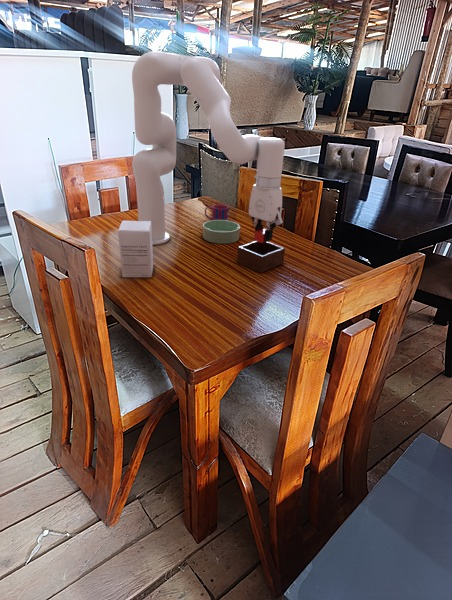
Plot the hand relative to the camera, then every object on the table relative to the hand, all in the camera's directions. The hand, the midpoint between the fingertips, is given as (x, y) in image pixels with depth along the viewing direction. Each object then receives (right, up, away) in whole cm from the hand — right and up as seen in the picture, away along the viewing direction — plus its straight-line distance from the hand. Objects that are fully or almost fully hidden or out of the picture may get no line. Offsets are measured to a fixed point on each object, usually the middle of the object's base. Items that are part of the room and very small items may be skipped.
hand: (263, 238), depth 130 cm
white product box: (-39, -11, -6) cm, 41 cm away
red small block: (0, 0, 0) cm, 1 cm away
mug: (-16, +13, +40) cm, 45 cm away
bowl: (-14, +4, +24) cm, 28 cm away
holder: (-1, -8, +4) cm, 9 cm away
